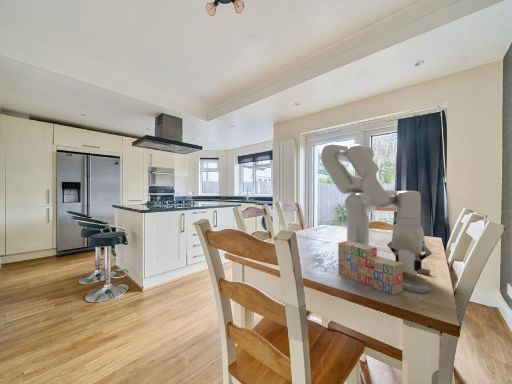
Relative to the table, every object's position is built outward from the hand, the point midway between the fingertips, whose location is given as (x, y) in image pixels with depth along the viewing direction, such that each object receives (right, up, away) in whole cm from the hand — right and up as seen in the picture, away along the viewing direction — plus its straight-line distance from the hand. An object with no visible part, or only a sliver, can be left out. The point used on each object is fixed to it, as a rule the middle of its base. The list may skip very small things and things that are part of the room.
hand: (408, 267), depth 84 cm
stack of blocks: (-19, -3, -6) cm, 21 cm away
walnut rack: (-1, -2, +1) cm, 3 cm away
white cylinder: (0, -3, 0) cm, 3 cm away
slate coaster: (-7, -3, -12) cm, 14 cm away
